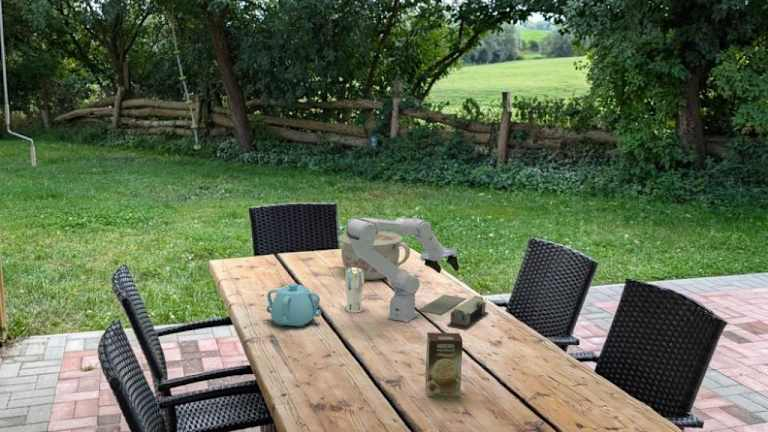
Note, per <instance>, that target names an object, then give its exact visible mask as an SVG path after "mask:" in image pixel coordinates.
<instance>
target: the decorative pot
mask: <svg viewBox="0 0 768 432" xmlns="http://www.w3.org/2000/svg"><path fill="white" fill-rule="evenodd" d="M272 293H276V294H275V297H274V299H273V300H272V296H271V295H272ZM266 297H267V302H268V304H269V305H268V306H266V313H268V314H270V316H271V319H272V321H273V322H274V323H275V324H276V325H277V326H280V327H282V326H293V327H294V326H295V327H297V328H302V327H304V325H306V324H309V323H310V322H311V321H312V320H313V319H314V317H315V318H317V317H320V316H322V311H321V310H320V309H318V307H319V304H320V300H321V298H320V295H319V294H318V293H317V292H315V291H311V290H310V288H308V287H307V286H304V285H302V284H298V283H288V285H284V286H283V287H281V288H279V289H278V288H277V289H275V288H273V289H270V290H269V291H268V293H267V295H266ZM314 297H315V299H316V301H315V299H314Z"/></svg>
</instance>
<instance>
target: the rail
mask: <svg viewBox="0 0 768 432" xmlns="http://www.w3.org/2000/svg"><path fill="white" fill-rule="evenodd" d="M483 300H484V298H483V296H475V295H474V296H472V298H470V299H468V300H467V301H465V302H463V304H460V305H459V306H457V307H455V308H454V309H453V311H454V319H460V320H463V319H464V315H465V314H467V313H470V314H471V313H472V312H474V311H475V310H477V309H478V308H480V304H482V303H483V302H484V301H483Z"/></svg>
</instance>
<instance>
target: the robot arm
mask: <svg viewBox="0 0 768 432" xmlns="http://www.w3.org/2000/svg"><path fill="white" fill-rule="evenodd" d="M379 230H380V231H394V233H396V234H399V235H401V236H403V235H404V236H414V235H415V237H416V239H417V240H418V242H419V243H420V245H421V246H422V247H423V249H424V251H425V252H423V253H420V256H419V259H420V260H421V261H422V262H423V261H424V266H426V267H428V268H431V269H432V270H434V271H435V272H436V273H438V274H441V271H442V266H441V265H440V264H439V262H438V261H440V260H442V259H446V258H447V260H446V263H447V264H449V265H451V267H452V268H453V270H454V271H456V272H458V271H459V269H460V265H459V262H458V251H457V249H456V248H448V247H444V245H442V244H441V243H440V241H439V240H438V238H437V237H436V235H435V234H434V232H433V231H432V224H431V223H430V222H428V221H427V220H424V219H421V218H417V217H412V218H408V217H407V216H404V215H401V217H397V218H396V219H395V220H390V219H380V218H372V217H359V218H357V217H352V218H350V219H349V220H348V221H347V223H346V226H345V233H346V236H347V238H348V239H349V240H350V242H351V245H352V247H353V249H354V252H355V254H356V255H357V256H359V257H360V258H361V259H363V260H364V261H365V262H367V263H368V264H369V265H371V266H372V267H374V268H375V269H376V270H378V271H379V272H380V273H382V274H383V275H384V276H386V279H387V281H388V282H389V283H390V285H391V287H392V288H393V291H394V294H393V296H392V297H391V299H390V303H389V316H387V319H389V320H395V321H399V322H405V323H407V322H410V321H411V320H413V319H415V318H416V317H419V316H420V313H419V312H416V311H415V309H416V294H417V292H418V290H419V289H420V286H421V283H420V278H418V277H417V276H414V275H412V274H409V273H407V272H405V271H403V270H402V269H400V268H399V267H396V266H395V265H393V264H392V263H391V262H389V261H388V260H387V259H385V258H384V257H383V256H382V255H380V254H379V253H378V252H376V251H375V250H374V249H372V248H373V244H374V240H375V236H376V234H378V233H379Z"/></svg>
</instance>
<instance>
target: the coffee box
mask: <svg viewBox="0 0 768 432" xmlns="http://www.w3.org/2000/svg"><path fill="white" fill-rule="evenodd" d="M426 334H427V336H426V355H425V356H426V358H425V378H424V379H425V380H424V381H425V382H424V385H425V387H424V388H425V392H426V393H425V394H426V397H430V398H431V397H432V398H433V397H437V398H441V397H442V398H444V397H445V398H447V397H449V398H451V397H452V398H456V397H458V398H460V397H461V384H462V361H463V359H462V358H463V343H464V342H463V338H462V335H461V334H460V332H427V333H426Z"/></svg>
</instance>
